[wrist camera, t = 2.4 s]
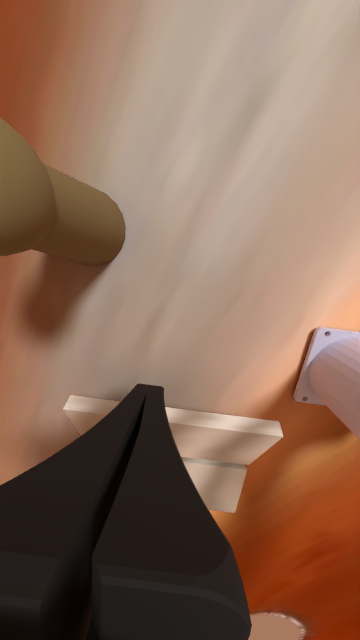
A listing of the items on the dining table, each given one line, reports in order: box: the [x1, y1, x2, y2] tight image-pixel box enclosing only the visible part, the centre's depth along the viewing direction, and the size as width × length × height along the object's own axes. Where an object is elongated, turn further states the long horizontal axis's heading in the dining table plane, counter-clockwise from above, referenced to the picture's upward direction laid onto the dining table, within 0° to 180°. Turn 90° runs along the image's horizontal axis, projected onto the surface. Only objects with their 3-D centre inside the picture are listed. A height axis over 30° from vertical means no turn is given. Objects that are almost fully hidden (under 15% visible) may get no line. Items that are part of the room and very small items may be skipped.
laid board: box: [181, 457, 247, 513], centre depth 23 cm, size 18×8×1 cm, turn 83°
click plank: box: [63, 395, 283, 465], centre depth 19 cm, size 18×9×1 cm, turn 83°
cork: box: [0, 118, 125, 265], centre depth 11 cm, size 6×6×11 cm
